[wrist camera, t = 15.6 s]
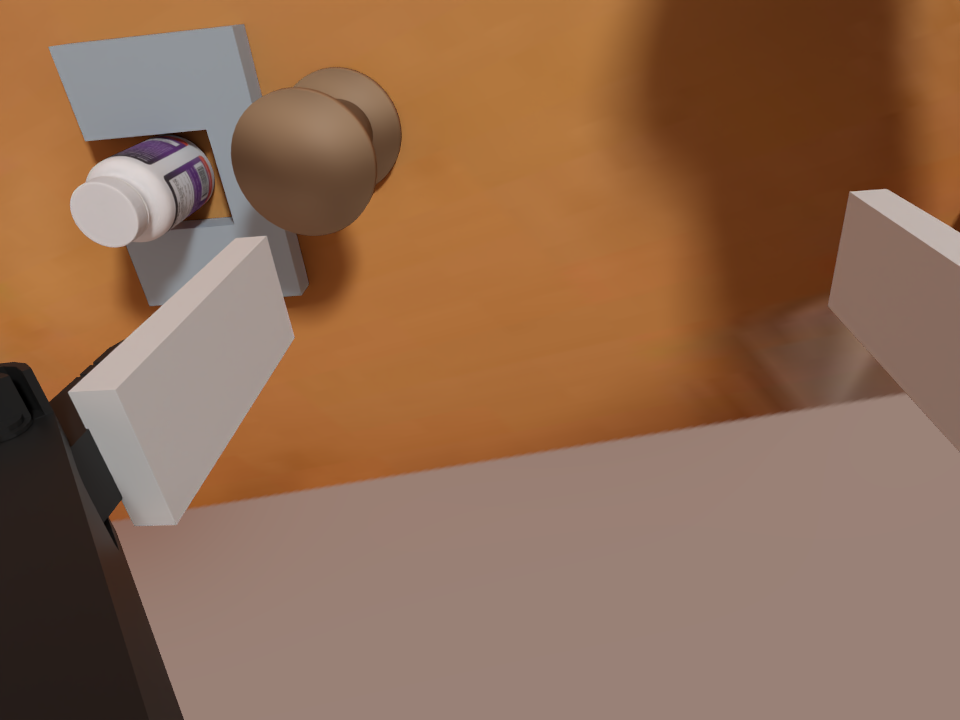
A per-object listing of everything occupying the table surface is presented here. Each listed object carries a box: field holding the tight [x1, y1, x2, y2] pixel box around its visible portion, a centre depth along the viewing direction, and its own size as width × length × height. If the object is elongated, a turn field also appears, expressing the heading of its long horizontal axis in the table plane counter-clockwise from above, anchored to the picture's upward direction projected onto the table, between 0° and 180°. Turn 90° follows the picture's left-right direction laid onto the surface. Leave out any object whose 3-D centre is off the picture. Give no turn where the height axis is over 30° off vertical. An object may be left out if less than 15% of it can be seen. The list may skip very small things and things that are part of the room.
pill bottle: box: [70, 135, 214, 247], centre depth 42 cm, size 5×5×10 cm
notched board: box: [49, 24, 309, 306], centre depth 46 cm, size 18×12×2 cm, turn 6°
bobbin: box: [231, 67, 402, 236], centre depth 40 cm, size 8×8×10 cm
